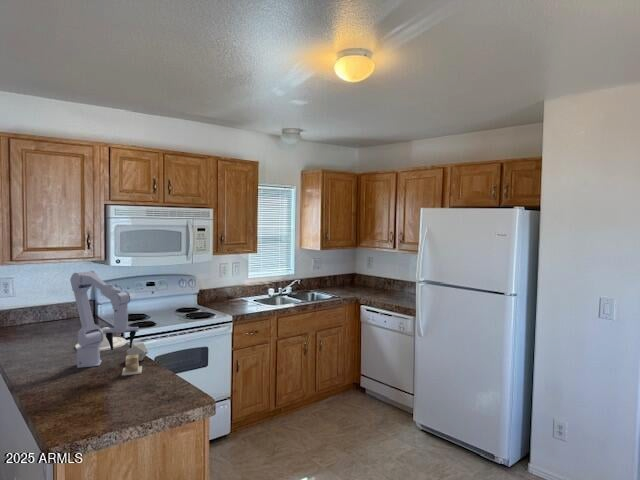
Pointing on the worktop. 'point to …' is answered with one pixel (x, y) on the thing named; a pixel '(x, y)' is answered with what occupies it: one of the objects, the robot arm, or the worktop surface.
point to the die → (138, 350)
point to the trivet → (132, 371)
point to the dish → (105, 343)
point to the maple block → (132, 363)
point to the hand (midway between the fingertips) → (121, 348)
